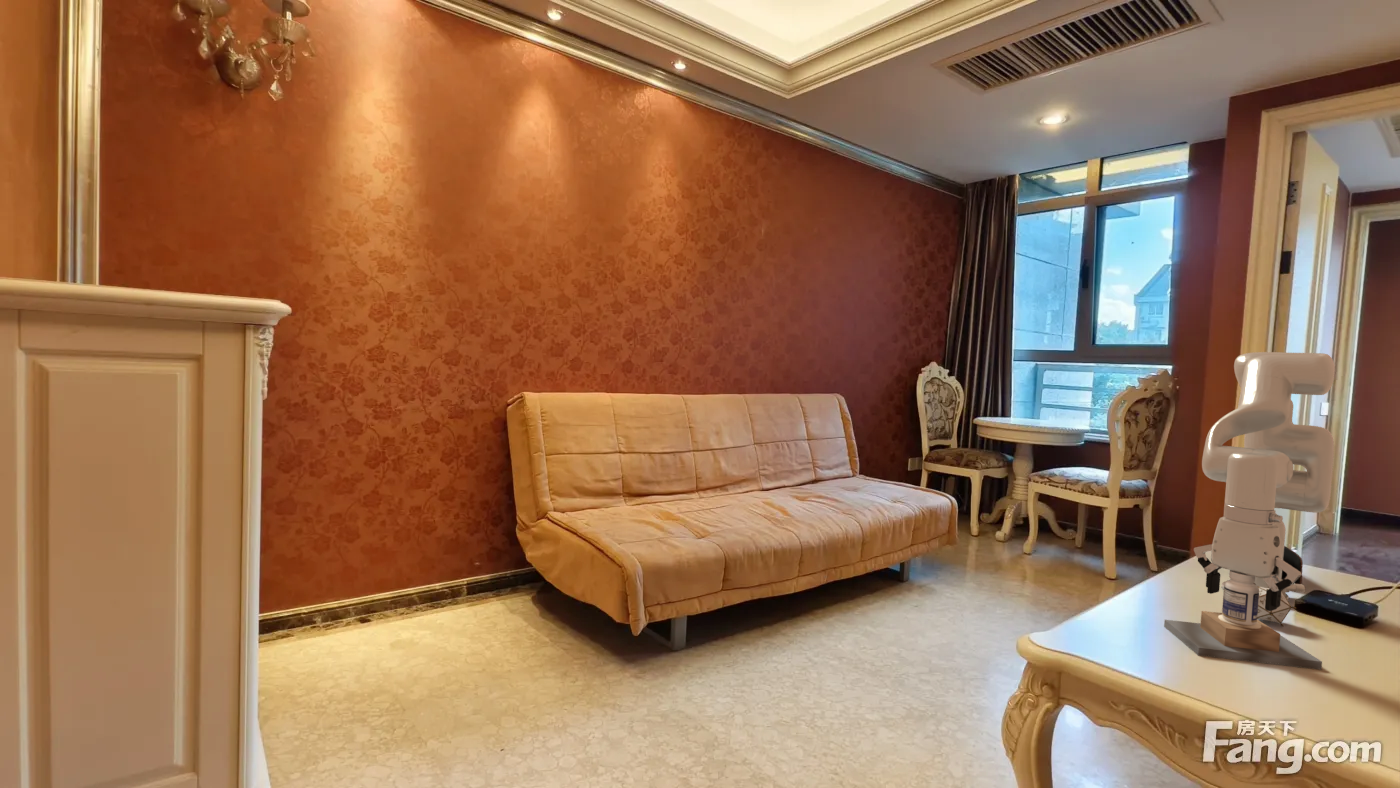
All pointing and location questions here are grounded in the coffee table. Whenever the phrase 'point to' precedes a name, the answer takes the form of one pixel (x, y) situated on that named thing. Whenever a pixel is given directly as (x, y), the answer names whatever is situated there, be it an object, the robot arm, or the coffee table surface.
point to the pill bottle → (1240, 599)
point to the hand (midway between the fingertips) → (1241, 600)
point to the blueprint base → (1240, 653)
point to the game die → (1273, 615)
